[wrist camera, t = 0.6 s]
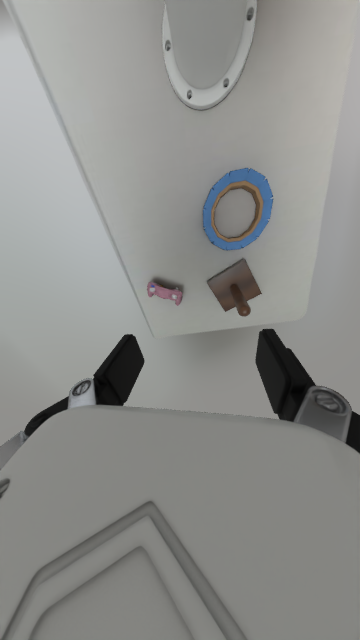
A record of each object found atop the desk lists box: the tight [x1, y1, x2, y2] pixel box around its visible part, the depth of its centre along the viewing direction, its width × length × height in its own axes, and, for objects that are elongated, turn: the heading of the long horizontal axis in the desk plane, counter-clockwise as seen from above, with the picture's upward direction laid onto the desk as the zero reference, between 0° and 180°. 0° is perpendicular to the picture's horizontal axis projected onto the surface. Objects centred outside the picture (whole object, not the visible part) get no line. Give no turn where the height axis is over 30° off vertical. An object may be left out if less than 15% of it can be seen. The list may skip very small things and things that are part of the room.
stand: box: [207, 258, 262, 316], centre depth 33 cm, size 10×10×15 cm
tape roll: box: [203, 168, 273, 250], centre depth 30 cm, size 13×13×2 cm
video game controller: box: [147, 282, 182, 306], centre depth 40 cm, size 10×5×7 cm, turn 75°
